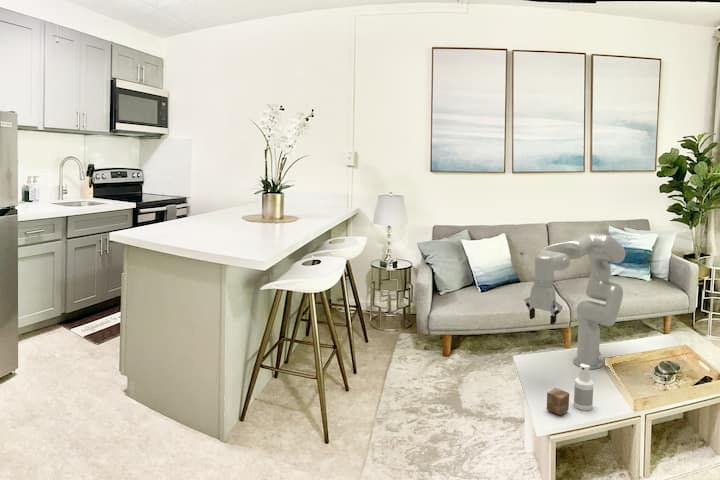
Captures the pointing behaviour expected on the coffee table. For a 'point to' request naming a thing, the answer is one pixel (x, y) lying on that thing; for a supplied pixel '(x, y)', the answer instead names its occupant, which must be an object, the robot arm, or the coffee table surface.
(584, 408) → the spray bottle
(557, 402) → the tan wooden cube
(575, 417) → the coffee table surface
